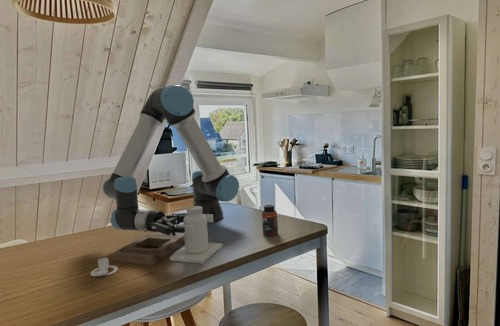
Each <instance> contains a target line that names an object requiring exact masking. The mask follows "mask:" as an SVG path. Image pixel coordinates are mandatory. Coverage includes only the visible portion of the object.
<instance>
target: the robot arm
mask: <svg viewBox="0 0 500 326" xmlns="http://www.w3.org/2000/svg"><path fill="white" fill-rule="evenodd" d="M145 101H146V102H145V103H144V105H143V107H142V109H141V111H140V113H139V117H140V119H139V120H138V122H137V124H136V126H135V128H134V131H133V132H132V134H131V136H130V138H129V141H128V142H127V144H126V146H125V148H124V150H123V151H122V154H121V156H120V158H119V159H118V162H117V163H116V166H115V167H114V169H113V171H112V173H111V175H110V177H109V178H108V179H106V180H105V181H104V182H103V183H102V192H103V194H104V195H106V196H107V197H108V198H110V199H113V200H115V204H116V209H115V210H113V211H112V213H111V218H110V223H111V225H112V227H113V228H114V229H117V230H123V231H137V232H139V231H140V232H141V231H142V232H144V233H147V232H150V233H152V232H155V233H163V234H166V235H171V234H172V236H175V235H176V234H183V235H184V234H195V225H184V224H182V223H183V220H184V217H185V216H187V212H180V213H179V212H178V213H171V214H165V213H164V211H162V210H152V209H139V197H138V184H137V180H136V179H137V178H135V177H134V175H135V172H137V171H136V170H137V168H138V166H139V165H140V163H141V161H142V159H143V156H144V155H145V152H146V151H147V149H148V147H149V145H150V143H151V141H152V140H153V137H154V135H155V133H156V131H157V129H158V128H159V127H161V126H162V124H163V122H164V121H165V120H166V122H167V124H168V125H169V126H171V127H173V128H175V129H176V131H177V133H178V134H179V136H180V137H181V139H182V141H183V144H184V145H185V146H186V148H187V150H188V151H189V153H190V155H191V157H192V158H193V160H194V162H195V164H196V165H197V167H198V169H199V170H197V171H194V172H192V174H191V175H192V177H191V181H192V194H193V206H201V207H202V209H203V211H202V214H204V215H205V216H206V218H207V223H214V222H215V221H219V220H222V219H223V218H224V211H223V209H222V206H221V203H220V202H230V201H232V200H234V199H235V198H236V196H237V195H238V193H239V189H240V182H239V180H238V178H237V177H236V176H234V175H233V174H230V172H229V170H228V169H227V167H226V166H225V165H223V164H221V163H220V161H219V160H218V158H217V156H216V155H215V153H214V151H213V148H212V147H211V145H210V143H209V142H208V140H207V138H206V136H205V134H204V132H203V131H202V129H201V127H200V126H199V124H198V122H197V120H196V117H195V115H196V110H195V108H194V103H195V102H194V101H195V100H194V97H193V95H192V93H191V91H190V90H189V89H188V88H187V87H185V86H183V85H181V84H176V85H175V84H171V85H168V86H165V87H161V88H156V89H155V90H153V91H152V92H151V93H150V95H149V96H148V98H147V100H145Z"/></svg>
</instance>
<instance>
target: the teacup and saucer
mask: <svg viewBox="0 0 500 326" xmlns="http://www.w3.org/2000/svg"><path fill="white" fill-rule="evenodd" d="M109 261H110V260H109V257H103V258H99V259H98V260H97V265H98V267H97V268H95V269H93V270H92V271H91V272H90V273H89V274H90V275H91V276H93V277H105V276H109V275H112V274H115V272H117V271H118V270H119V267H118V266H117V265H111V264H110V262H109ZM109 268H111V269H113V270H112V271H111V272H109Z"/></svg>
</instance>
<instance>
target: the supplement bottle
mask: <svg viewBox="0 0 500 326" xmlns="http://www.w3.org/2000/svg"><path fill="white" fill-rule="evenodd" d="M261 222H262V224H261V225H262V234H263V235H265V236H270V237H272V236H275V235H277V234H278V233H279V226H278V212H277V210H275V206H274V204H265V205H264V206H263V211H261Z"/></svg>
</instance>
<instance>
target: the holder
mask: <svg viewBox="0 0 500 326" xmlns="http://www.w3.org/2000/svg"><path fill="white" fill-rule="evenodd" d="M183 245H185V239H184V234H182V233H176V235H175V236H172V233H171V235H166V234H163V233H160V232H150V233H148V234H146V235H144V236H142V237H141V238H139V239H136V240H135V241H133V242H131V243H129V244H127V245H125V246H123V247H121V248H119V249H116V251H113V252H112V257H113V262H116V263H117V262H118V263H125V264H134V265H135V264H136V265H145V266H154V265H155V264H156V263H158V262H159V261H161V260H162V259H164V258H165V257H167V256H168V255H169V254H172V253H173V252H174V251H176V250H177V249H178V248H180V247H182V246H183ZM149 246H152V247H157V248H147V247H149Z"/></svg>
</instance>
